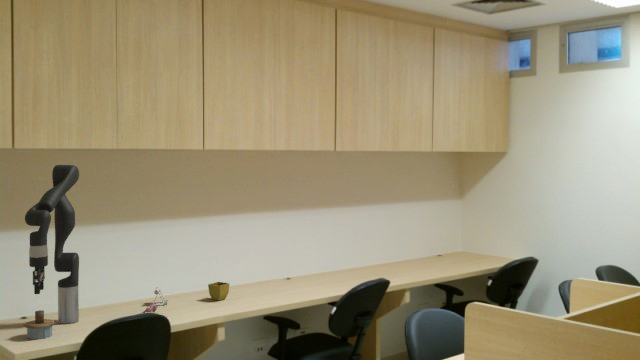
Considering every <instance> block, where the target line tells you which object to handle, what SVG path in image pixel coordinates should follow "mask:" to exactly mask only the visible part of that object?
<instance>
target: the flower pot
mask: <svg viewBox="0 0 640 360" xmlns="http://www.w3.org/2000/svg"><path fill="white" fill-rule="evenodd" d="M207 286H208V288H207V289H208V293H209V296H210V298H211V299H212V301H223V300H226V299H227V297H228V295H229V291H230V283H229V282H223V281H216V282H212V283H208V284H207Z"/></svg>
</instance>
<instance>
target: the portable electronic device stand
mask: <svg viewBox="0 0 640 360" xmlns="http://www.w3.org/2000/svg"><path fill="white" fill-rule="evenodd" d="M153 294H155V295H156V296H155V299H154V301H153V303H152V304H155V303H156V302H155V301H156V299H157V297H158V295H159V298H160V300H161V303H162V304H163V305H164V306H165V305H166V306H167V305H168V303H169V298H168V297H167V299H165V297H164V295H163V292H162V291H161V288H160V287H156V288H155V289H154V291H153Z"/></svg>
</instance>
